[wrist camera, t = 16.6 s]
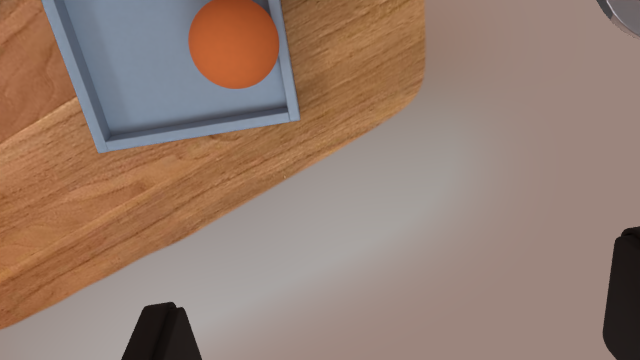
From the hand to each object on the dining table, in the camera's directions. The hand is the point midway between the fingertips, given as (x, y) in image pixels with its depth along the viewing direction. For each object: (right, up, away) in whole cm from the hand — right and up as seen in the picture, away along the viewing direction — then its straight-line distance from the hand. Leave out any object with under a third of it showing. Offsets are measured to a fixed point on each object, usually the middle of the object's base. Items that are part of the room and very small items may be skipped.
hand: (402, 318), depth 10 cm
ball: (-7, +12, +21) cm, 26 cm away
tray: (-12, +13, +25) cm, 30 cm away
